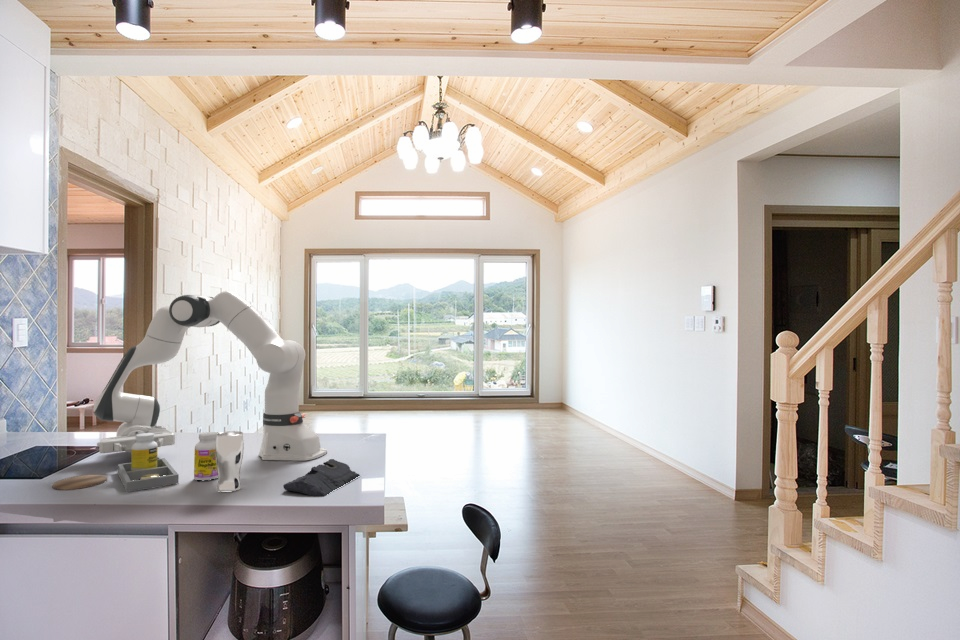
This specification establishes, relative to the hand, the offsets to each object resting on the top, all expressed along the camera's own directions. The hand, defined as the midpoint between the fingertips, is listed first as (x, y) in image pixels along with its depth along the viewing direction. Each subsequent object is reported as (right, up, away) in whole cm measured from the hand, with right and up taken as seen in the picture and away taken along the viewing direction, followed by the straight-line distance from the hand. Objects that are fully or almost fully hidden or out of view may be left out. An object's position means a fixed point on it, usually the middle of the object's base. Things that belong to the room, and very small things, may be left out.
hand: (141, 446), depth 162 cm
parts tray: (+9, -6, -11) cm, 16 cm away
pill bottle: (+6, -7, -7) cm, 11 cm away
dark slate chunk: (+60, -8, -15) cm, 62 cm away
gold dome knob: (+13, -7, -15) cm, 21 cm away
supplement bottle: (+26, -7, -11) cm, 29 cm away
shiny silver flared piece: (+37, -7, -21) cm, 43 cm away
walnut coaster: (-6, -6, -17) cm, 19 cm away
